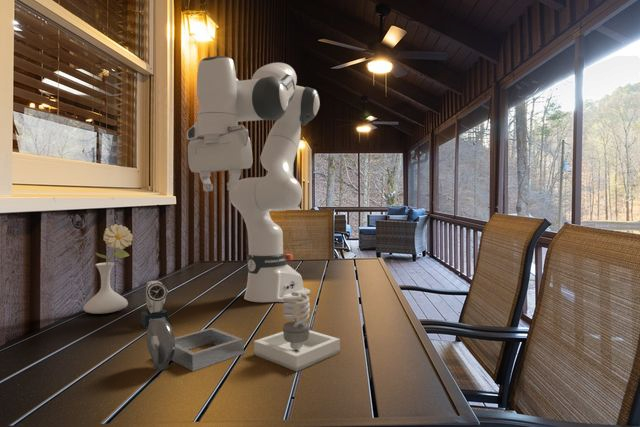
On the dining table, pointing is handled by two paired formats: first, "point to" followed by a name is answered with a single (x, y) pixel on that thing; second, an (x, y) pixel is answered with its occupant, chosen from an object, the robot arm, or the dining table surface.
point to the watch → (154, 303)
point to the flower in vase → (106, 296)
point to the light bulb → (296, 320)
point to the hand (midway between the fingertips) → (219, 190)
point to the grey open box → (190, 346)
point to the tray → (308, 355)
